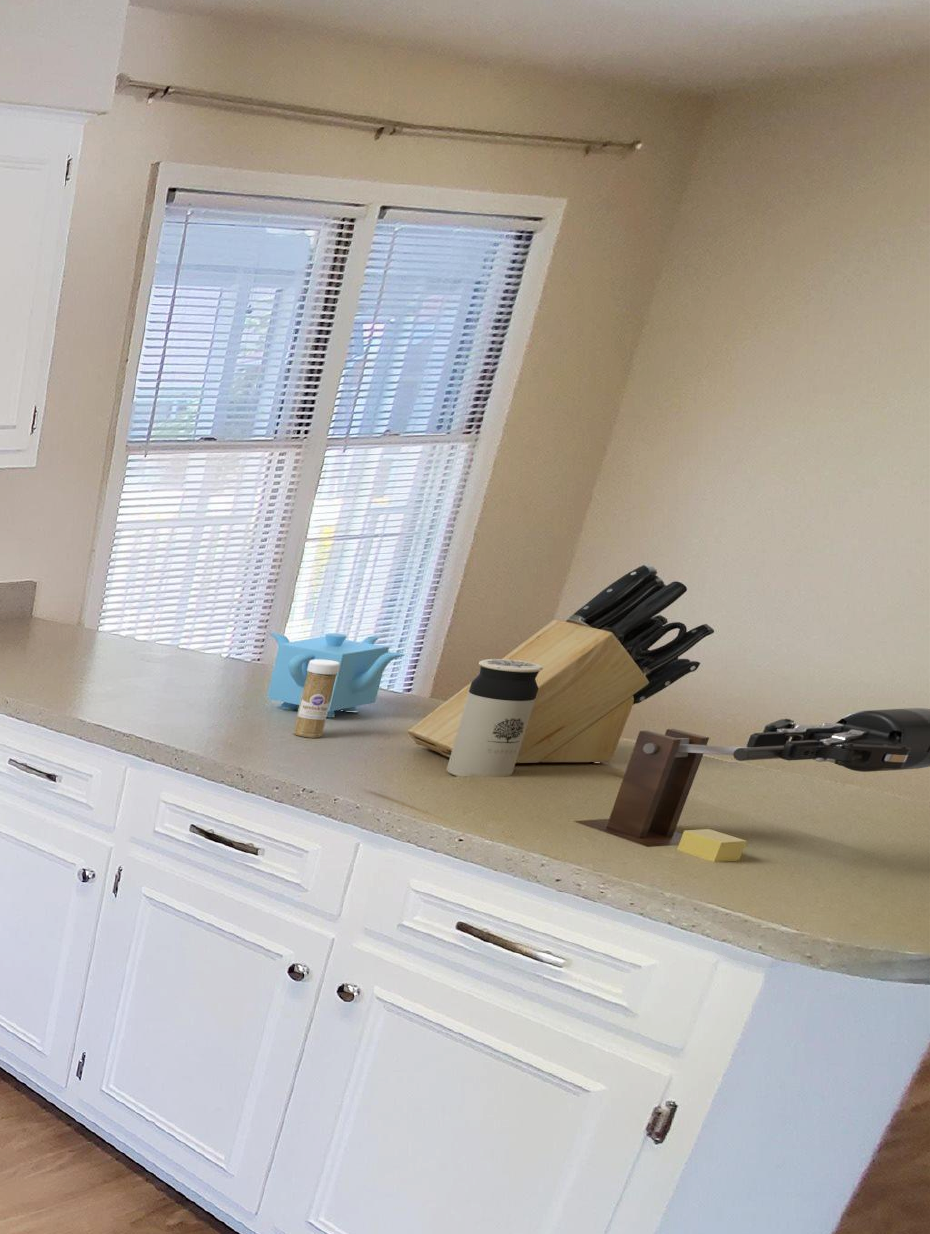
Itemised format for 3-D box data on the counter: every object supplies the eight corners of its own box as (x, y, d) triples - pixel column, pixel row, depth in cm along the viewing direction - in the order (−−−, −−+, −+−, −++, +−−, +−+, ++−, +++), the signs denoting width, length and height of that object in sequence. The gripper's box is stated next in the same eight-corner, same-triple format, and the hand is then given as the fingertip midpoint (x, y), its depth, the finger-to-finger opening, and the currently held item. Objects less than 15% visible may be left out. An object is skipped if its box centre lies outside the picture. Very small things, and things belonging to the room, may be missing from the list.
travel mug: (438, 766, 181) (469, 657, 175) (498, 770, 178) (532, 660, 172) (456, 781, 174) (489, 667, 168) (518, 785, 172) (554, 670, 165)
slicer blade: (805, 761, 134) (808, 741, 134) (746, 764, 134) (749, 744, 133) (683, 754, 147) (685, 735, 147) (629, 757, 147) (631, 739, 146)
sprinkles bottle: (298, 738, 198) (315, 663, 193) (288, 731, 202) (304, 658, 197) (327, 738, 197) (345, 664, 192) (316, 732, 201) (333, 658, 196)
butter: (757, 871, 139) (769, 843, 138) (708, 874, 139) (719, 846, 137) (701, 852, 146) (711, 825, 144) (653, 855, 145) (663, 828, 144)
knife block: (674, 764, 179) (745, 569, 168) (449, 767, 181) (505, 573, 169) (613, 745, 190) (676, 560, 178) (401, 747, 191) (450, 564, 180)
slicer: (706, 851, 146) (747, 742, 140) (644, 855, 145) (684, 746, 140) (628, 825, 155) (664, 722, 150) (569, 829, 154) (604, 725, 149)
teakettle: (275, 718, 211) (292, 641, 205) (253, 695, 227) (268, 623, 222) (393, 725, 205) (414, 645, 199) (362, 700, 221) (380, 626, 216)
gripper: (841, 695, 141) (717, 702, 140) (985, 725, 128) (849, 732, 127) (818, 752, 144) (696, 759, 143) (956, 786, 131) (823, 794, 130)
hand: (769, 746), depth 135 cm, fingers closed on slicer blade, 3 cm apart
